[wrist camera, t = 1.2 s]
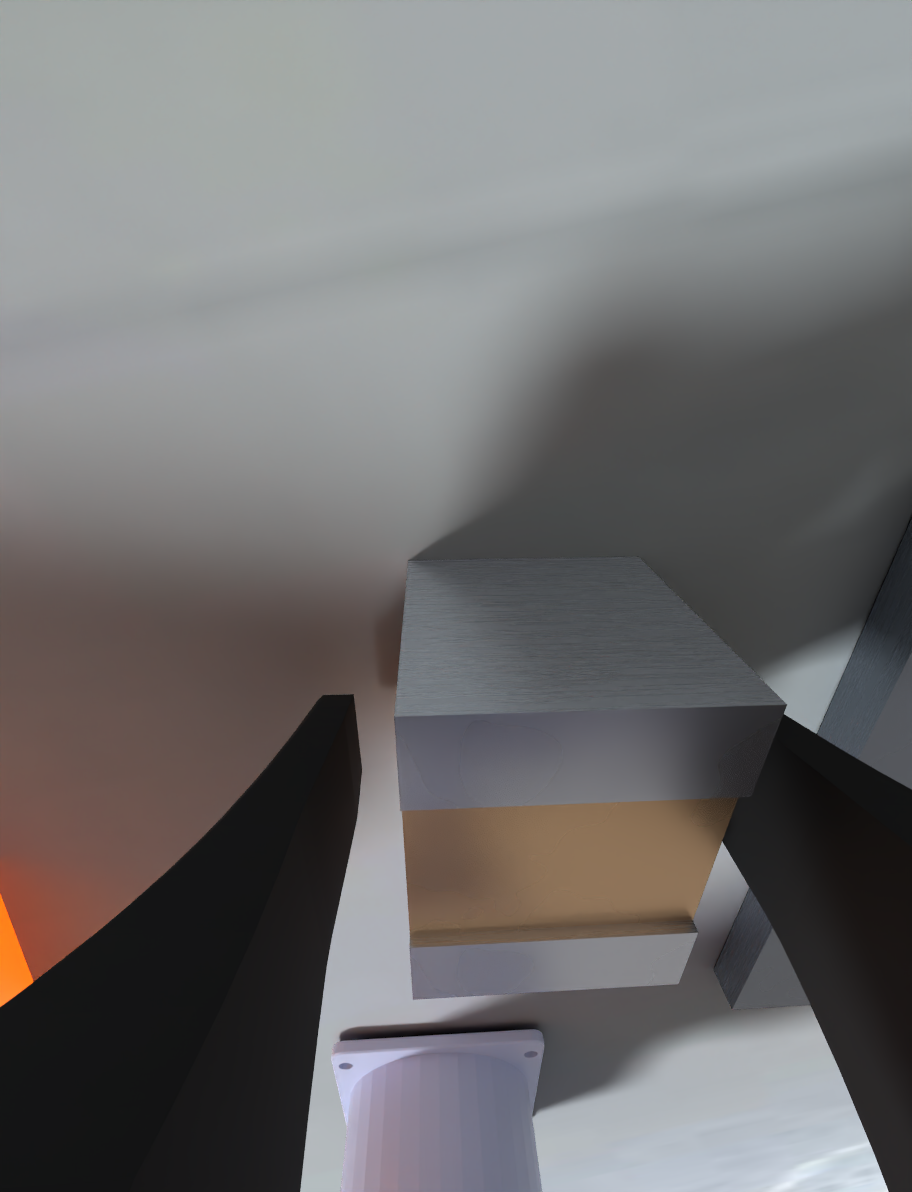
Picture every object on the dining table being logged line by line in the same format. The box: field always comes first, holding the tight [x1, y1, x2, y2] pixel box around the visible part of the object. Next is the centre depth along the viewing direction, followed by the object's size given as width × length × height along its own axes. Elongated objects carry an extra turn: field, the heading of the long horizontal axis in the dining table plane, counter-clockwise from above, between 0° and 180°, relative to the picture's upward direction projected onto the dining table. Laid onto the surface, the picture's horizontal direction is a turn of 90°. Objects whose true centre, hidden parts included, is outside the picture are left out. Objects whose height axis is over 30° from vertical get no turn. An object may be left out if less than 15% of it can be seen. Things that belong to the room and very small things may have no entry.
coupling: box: [394, 557, 787, 1000], centre depth 10 cm, size 6×5×5 cm
